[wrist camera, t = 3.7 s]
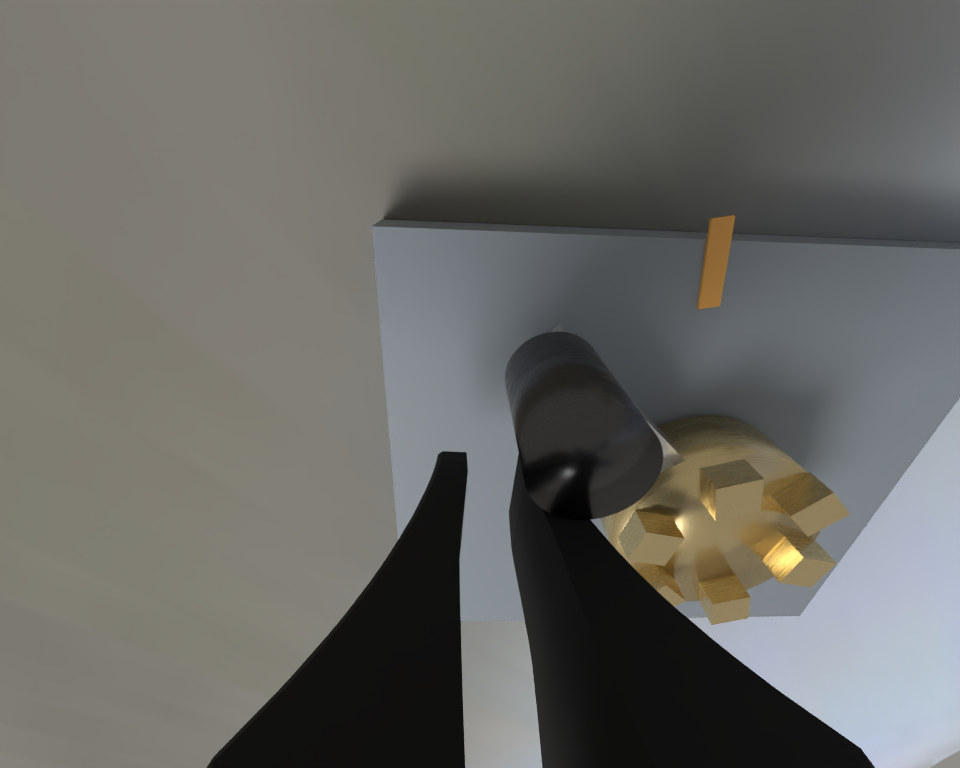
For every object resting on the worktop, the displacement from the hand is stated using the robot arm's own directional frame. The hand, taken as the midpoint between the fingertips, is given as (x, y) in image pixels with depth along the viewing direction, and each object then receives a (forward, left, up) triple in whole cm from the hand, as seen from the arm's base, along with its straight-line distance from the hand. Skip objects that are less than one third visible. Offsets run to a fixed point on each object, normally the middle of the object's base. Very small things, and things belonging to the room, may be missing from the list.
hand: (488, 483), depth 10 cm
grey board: (-6, +3, -5) cm, 8 cm away
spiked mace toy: (-5, +1, -3) cm, 6 cm away
